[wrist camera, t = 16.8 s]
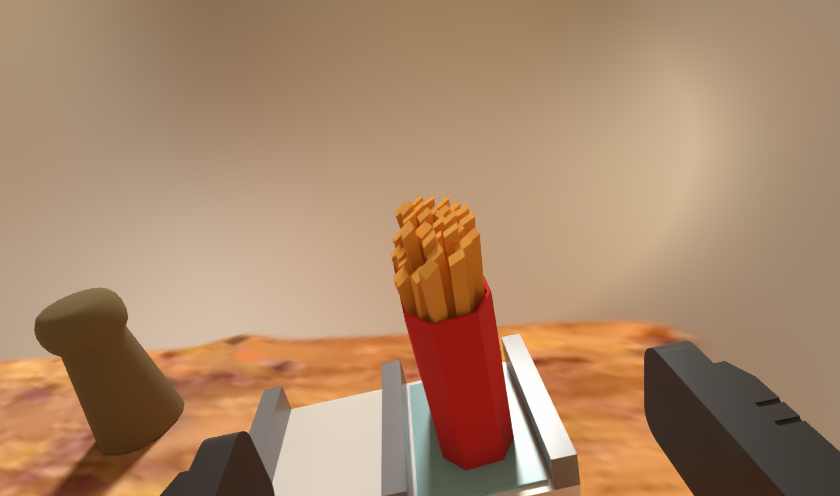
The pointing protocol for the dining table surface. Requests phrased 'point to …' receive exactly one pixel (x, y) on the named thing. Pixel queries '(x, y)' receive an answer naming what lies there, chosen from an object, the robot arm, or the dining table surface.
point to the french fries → (453, 330)
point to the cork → (109, 370)
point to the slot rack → (411, 442)
